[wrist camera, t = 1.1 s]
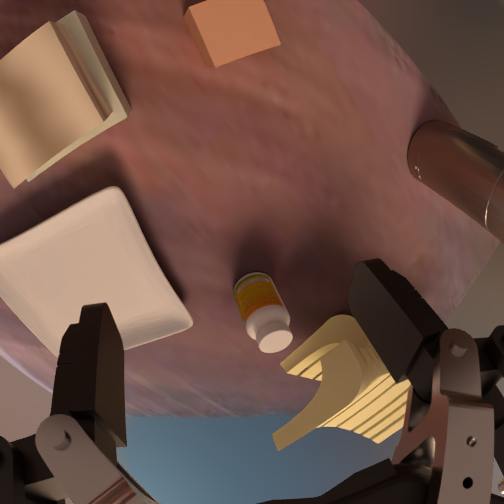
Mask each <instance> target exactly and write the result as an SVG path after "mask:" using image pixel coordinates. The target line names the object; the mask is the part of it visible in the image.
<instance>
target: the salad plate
mask: <svg viewBox="0 0 504 504" xmlns="http://www.w3.org/2000/svg"><path fill="white" fill-rule="evenodd" d="M0 297H1V298H2V299H3V300H4V301H5V303H6V304H7V305H8V306H9V307H10V309H11V310H12V311H13V312H14V313H15V314H16V315H17V316H18V318H19V319H20V320H21V321H22V322H23V323H24V324H25V325H26V326H27V327H28V328H29V329H30V331H31V332H32V333H33V334H34V335H35V336H36V337H37V338H38V339H39V340H40V341H41V342H42V343H43V344H44V345H45V346H46V347H47V348H48V349H49V350H50V351H51V352H52V353H53V354H54V355H55V356H56V357H57V358H58V356H59V355H60V353H59V350H60V344H61V339H62V336H63V335H64V333H65V332H66V330H67V328H68V327H69V325H70V324H76V323H79V318H80V313H81V308H82V306H83V305H89V304H96V303H104V302H106V303H107V304H108V306H109V308H110V311H111V313H112V316H113V318H114V321H115V323H116V326H117V328H118V330H119V333H120V335H121V338H122V342H123V347H124V350H127V349H130V348H133V347H136V346H139V345H142V344H145V343H148V342H151V341H154V340H157V339H161V338H164V337H167V336H170V335H173V334H176V333H179V332H181V331H184V330H186V329H188V328H190V327H191V326H192V325H193V319H192V317H191V315H190V314H189V312H188V310H187V309H186V307H185V306H184V304H183V303H182V301H181V300H180V299H179V297H178V296H177V294H176V293H175V291H174V290H173V288H172V286H171V285H170V283H169V282H168V280H167V278H166V277H165V275H164V273H163V272H162V270H161V268H160V266H159V265H158V263H157V261H156V259H155V257H154V255H153V253H152V251H151V249H150V247H149V245H148V243H147V241H146V239H145V237H144V235H143V233H142V230H141V228H140V226H139V224H138V222H137V219H136V217H135V215H134V213H133V211H132V208H131V206H130V204H129V202H128V200H127V198H126V196H125V194H124V193H123V191H122V190H121V189H120V188H119V187H117V186H110V187H107V188H105V189H102V190H100V191H98V192H96V193H94V194H92V195H90V196H88V197H86V198H84V199H82V200H81V201H79V202H77V203H75V204H73V205H72V206H70V207H68V208H66V209H65V210H63V211H61V212H59V213H58V214H56V215H54V216H52V217H50V218H49V219H47V220H45V221H43V222H41V223H39V224H38V225H36V226H34V227H32V228H30V229H28V230H27V231H25V232H23V233H21V234H19V235H17V236H15V237H13V238H11V239H9V240H7V241H5V242H3V243H1V244H0Z"/></svg>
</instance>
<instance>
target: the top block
mask: <svg viewBox="0 0 504 504" xmlns="http://www.w3.org/2000/svg"><path fill="white" fill-rule="evenodd" d="M112 112H113V111H112V109H111V107H110V105H109V104H108V102H107V100H106V98H105V96H104V95H103V93H102V91H101V89H100V87H99V86H98V84H97V82H96V80H95V78H94V76H93V75H92V73H91V71H90V69H89V67H88V65H87V63H86V62H85V60H84V58H83V56H82V54H81V52H80V50H79V48H78V46H77V45H76V43H75V41H74V39H73V37H72V35H71V33H70V31H69V29H68V27H67V26H66V25H62V24H59V23H55V22H52V21H48V22H47V23H46V24H44V25H43V26H41V27H40V28H39V29H37V30H36V31H35V32H33V33H32V34H31V35H30V36H28V37H27V38H26V39H25V40H23V41H22V42H21V43H20V44H18V45H17V46H16V47H15V48H14V49H13V50H11V51H10V52H9V53H8V54H7V55H6V56H4V57H3V58H2V59H1V60H0V169H1V170H2V172H3V173H4V175H5V176H6V178H7V179H8V181H9V182H10V184H11V185H12V187H13V188H15V187H16V186H18V185H19V184H20V183H21V182H22V181H24V180H25V179H26V178H27V177H28V176H30V175H31V174H32V173H33V172H35V171H36V170H37V169H38V168H40V167H41V166H42V165H43V164H45V163H46V162H47V161H49V160H50V159H51V158H53V157H54V156H55V155H57V154H58V153H59V152H61V151H62V150H63V149H65V148H66V147H67V146H69V145H70V144H72V143H73V142H75V141H76V140H77V139H79V138H80V137H82V136H83V135H85V134H86V133H88V132H89V131H91V130H92V129H94V128H95V127H97V126H98V125H100V124H102V123H103V122H104V121H105V120H106V119H107V118H108V117H109V116H110V114H111V113H112Z"/></svg>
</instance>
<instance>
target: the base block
mask: <svg viewBox="0 0 504 504" xmlns="http://www.w3.org/2000/svg"><path fill="white" fill-rule="evenodd" d="M55 23H59V24H62V25H66V26H67V27H68V29H69V31H70V33H71V35H72V37H73V39H74V41H75V43H76V45H77V46H78V48H79V50H80V52H81V54H82V56H83V58H84V60H85V62H86V63H87V65H88V67H89V69H90V71H91V73H92V75H93V76H94V78H95V80H96V82H97V84H98V86H99V87H100V89H101V91H102V93H103V95H104V96H105V98H106V100H107V102H108V104H109V105H110V107H111V109H112V111H113V112H112V113H111V114H110V116H109V117H108V118H107V119H106V120H105V121H104V122H103V123H102V124H100V125H98V126H97V127H95V128H94V129H92V130H91V131H89V132H88V133H86V134H85V135H83V136H82V137H80V138H79V139H77V140H76V141H75V142H73V143H72V144H70V145H69V146H67V147H66V148H65V149H63V150H62V151H61V152H59V153H58V154H57V155H55V156H54V157H53V158H51V159H50V160H49V161H47V162H46V163H45V164H43V165H42V166H41V167H40V168H38V169H37V170H36V171H35V172H33V173H32V174H31V175H30V176H28V177H27V178H26V179H27V181H28V182H29V181H31V180H32V179H33V178H35V177H36V176H37V175H39V174H40V173H41V172H43V171H44V170H45V169H47V168H48V167H49V166H51V165H52V164H54V163H55V162H56V161H58V160H59V159H61V158H62V157H64V156H65V155H67V154H68V153H70V152H71V151H73V150H74V149H76V148H77V147H79V146H80V145H82V144H83V143H85V142H86V141H88V140H90V139H91V138H93V137H94V136H96V135H98V134H99V133H101V132H102V131H104V130H106V129H108V128H109V127H111V126H113V125H114V124H116V123H118V122H120V121H121V120H123V119H125V118H127V117H128V116H129V114H130V112H131V110H132V109H131V107H130V105H129V103H128V101H127V99H126V97H125V95H124V93H123V91H122V89H121V87H120V85H119V83H118V81H117V79H116V77H115V76H114V74H113V72H112V69H111V67H110V65H109V63H108V61H107V59H106V57H105V55H104V53H103V51H102V49H101V47H100V45H99V43H98V41H97V39H96V37H95V35H94V33H93V31H92V28H91V26H90V24H89V22H88V20H87V18H86V16H85V15H83V14H81V13H79V12H78V11H76V10H74V11H72V12H71V13H69V14H68V15H66V16H64V17H63V18H61V19H60V20H58V21H57V22H55Z"/></svg>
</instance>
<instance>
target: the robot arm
mask: <svg viewBox="0 0 504 504" xmlns="http://www.w3.org/2000/svg"><path fill="white" fill-rule="evenodd" d="M408 165H409V169H410V172H411V174H412V175H413V176H414V178H416V179H417V180H419V181H420V182H422V183H423V184H425V185H426V186H428V187H429V188H431V189H432V190H433V191H435V192H436V193H438V194H439V195H441V196H442V197H443V198H445V199H446V200H448V201H449V202H451V203H452V204H453V205H455V206H456V207H457V208H459V209H460V210H462V211H463V212H464V213H466V214H467V215H468V216H470V217H471V218H472V219H473V220H475V221H476V222H477V223H479V224H480V225H481V226H482V227H484V228H485V229H486V230H488V231H489V232H490V233H491V234H493V235H494V236H495V237H496V238H498V239H499V240H500V241H501V242H502V243H504V152H503V151H501V149H500V148H499V147H498V146H497V145H494V144H493V143H491V142H489V141H487V140H485V139H483V138H480V137H478V136H476V135H474V134H472V133H470V132H467V131H465V130H463V129H461V128H459V127H456V126H454V125H452V124H448V125H447V124H445V123H443V122H440V121H436V120H435V121H429V122H426V123H425V124H423V125H422V126H421V127H420V128H419V129H418V130H417V131H416V133H415V134H414V136H413V138H412V140H411V143H410V146H409V150H408ZM421 297H422V296H421V295H420V294H419V293H418V292H417V290H414V287H413V286H412V285H411V284H410V282H409V281H408V280H407V279H406V278H405V277H403V276H402V275H400V274H398V273H397V272H395V271H394V270H390V269H389V268H388V267H387V265H386V264H385V263H384V262H383V261H382V260H381V259H379V258H376V259H371V260H366V261H361V262H358V263H357V264H356V266H355V270H354V274H353V279H352V283H351V287H350V291H349V295H348V305H349V309H350V311H351V313H352V315H353V316H354V318H355V319H356V321H357V322H358V324H359V325H360V327H361V329H362V330H363V332H364V333H365V335H366V336H367V338H368V339H369V341H370V343H371V344H372V346H373V347H374V349H375V350H376V352H377V354H378V355H379V357H380V358H381V360H382V362H383V363H384V365H385V366H386V368H387V370H388V371H389V373H390V375H391V376H392V378H393V379H394V381H395V383H396V384H398V383H401V382H403V381H405V380H409V381H410V383H411V384H410V386H409V389H408V395H407V403H406V411H405V418H404V424H403V430H402V435H401V439H400V441H399V443H398V445H397V447H396V449H395V451H394V454H393V457H392V461H390V459H389V458H388V459H386V460H384V461H382V462H379V463H377V464H375V465H373V466H370V467H368V468H366V469H363V470H361V471H359V472H356V473H354V474H353V475H351V476H350V477H349V478H347V479H346V480H344V481H343V482H341V483H340V484H338V485H337V486H335V487H334V488H332V489H331V490H329V491H328V492H326V493H325V494H323V495H321V496H319V497H314V498H302V499H286V500H270V501H266V502H262V503H258V504H504V497H501V496H498V495H495V494H492V493H491V488H492V477H493V461H494V457H495V459H496V461H497V463H498V465H499V467H500V469H501V472H502V474H503V476H504V397H503V396H502V394H501V392H500V391H499V389H498V388H497V386H496V384H497V382H498V381H499V380H500V379H501V378H502V377H504V325H501V326H497V327H496V328H495V329H494V330H493V332H492V333H491V335H490V336H489V337H487V338H475V339H473V338H472V337H471V336H470V335H469V334H468V333H467V332H465V331H462V330H460V329H456V328H451V329H448V328H447V326H446V325H445V324H444V323H443V321H442V320H441V319H440V318H439V316H438V315H437V314H436V313H435V312H434V310H433V309H432V308H431V307H430V306H429V305H428V303H427V302H426V301H425V300H424V299H422V298H421ZM59 353H60V355H59V356H58V362H57V365H58V367H57V368H56V374H55V381H54V389H53V397H52V406H51V413H50V416H49V417H48V418H46V419H45V420H44V421H43V422H42V423H41V424H40V426H39V427H38V429H37V432H36V434H34V435H32V436H29V437H26V438H23V439H19V440H16V441H13V442H8V441H7V440H6V439H5V438H3V437H2V436H0V504H65V498H67V497H69V498H70V499H71V500H72V502H73V503H74V504H160V503H159V502H158V501H157V500H155V499H154V498H153V497H152V496H151V495H150V494H149V493H148V492H147V491H146V490H145V489H144V488H143V487H142V486H141V485H140V484H139V483H138V482H137V481H136V480H135V479H134V478H133V477H132V476H131V475H130V474H129V473H128V472H127V471H126V470H125V469H124V468H123V467H122V465H121V464H120V463H119V462H118V461H117V456H116V447H127V440H126V425H125V424H126V423H125V398H124V347H123V342H122V338H121V335H120V333H119V330H118V328H117V326H116V323H115V321H114V318H113V316H112V313H111V311H110V308H109V306H108V304H107V303H106V302H104V303H96V304H89V305H83V306H82V308H81V313H80V318H79V323H76V324H70V325H69V327H68V328H67V330H66V332H65V333H64V335H63V336H62V339H61V344H60V350H59ZM498 490H499V492H500V493H502V494H504V479H503V480H501V481H500V483H499V485H498Z"/></svg>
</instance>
